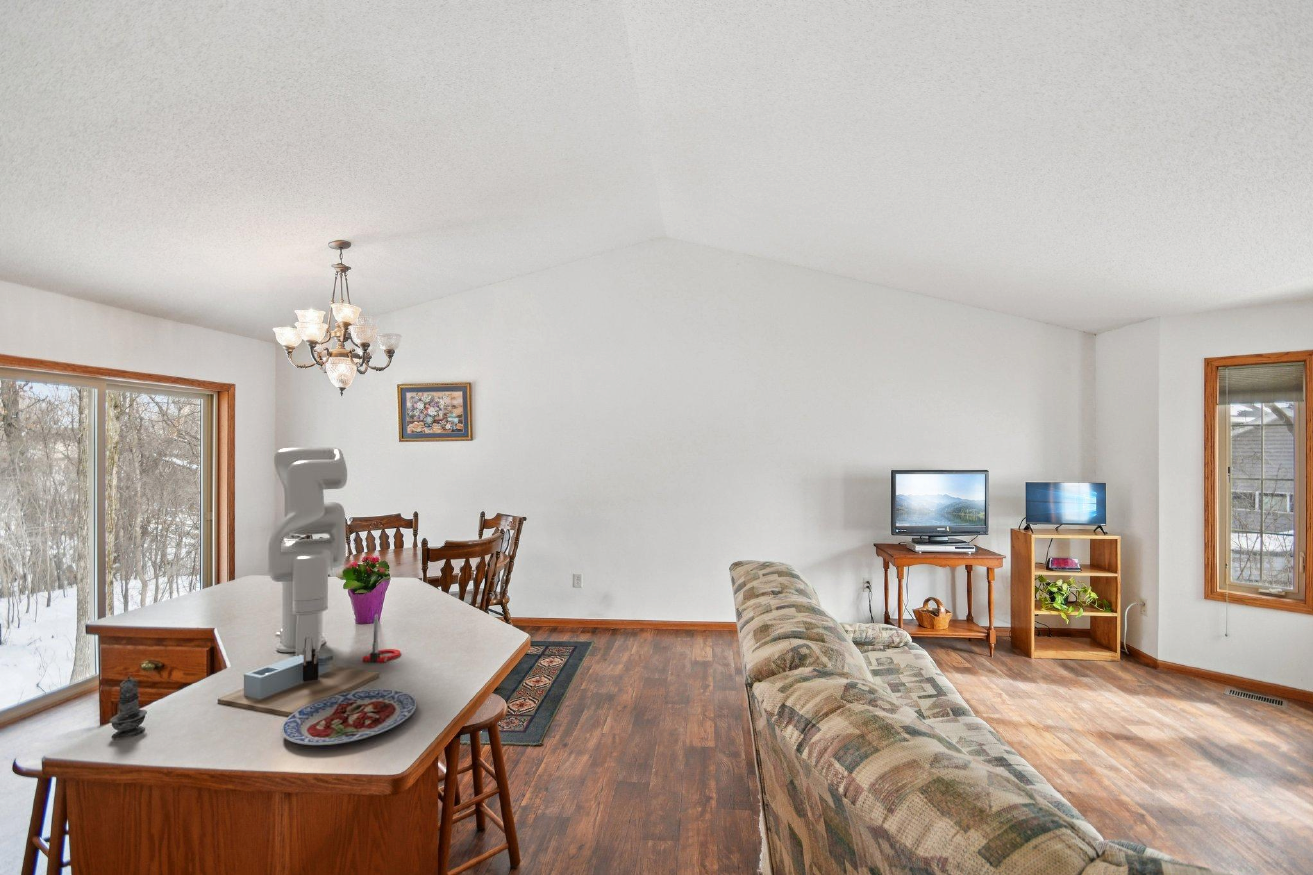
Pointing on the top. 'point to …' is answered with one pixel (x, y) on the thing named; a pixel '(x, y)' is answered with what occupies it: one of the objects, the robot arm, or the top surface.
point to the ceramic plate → (348, 717)
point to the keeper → (323, 657)
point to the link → (277, 677)
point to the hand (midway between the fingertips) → (310, 679)
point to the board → (303, 692)
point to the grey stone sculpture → (128, 711)
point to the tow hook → (375, 653)
